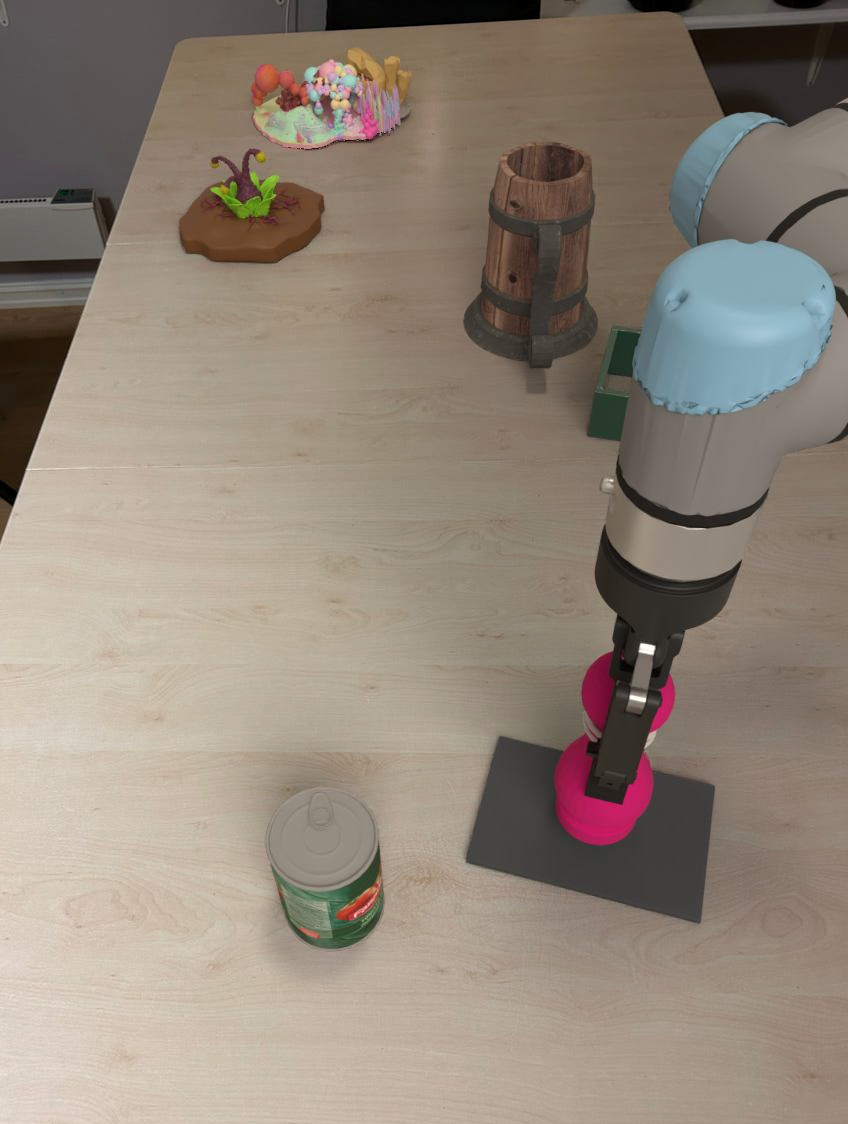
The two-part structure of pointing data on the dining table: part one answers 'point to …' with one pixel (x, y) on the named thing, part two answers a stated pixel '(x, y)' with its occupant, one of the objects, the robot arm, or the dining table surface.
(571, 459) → the dining table surface
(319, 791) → the canned tomato
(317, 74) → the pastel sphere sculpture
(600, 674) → the pepper mill
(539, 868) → the mat
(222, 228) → the plant
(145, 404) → the dining table surface
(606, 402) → the holder
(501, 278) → the tankard
